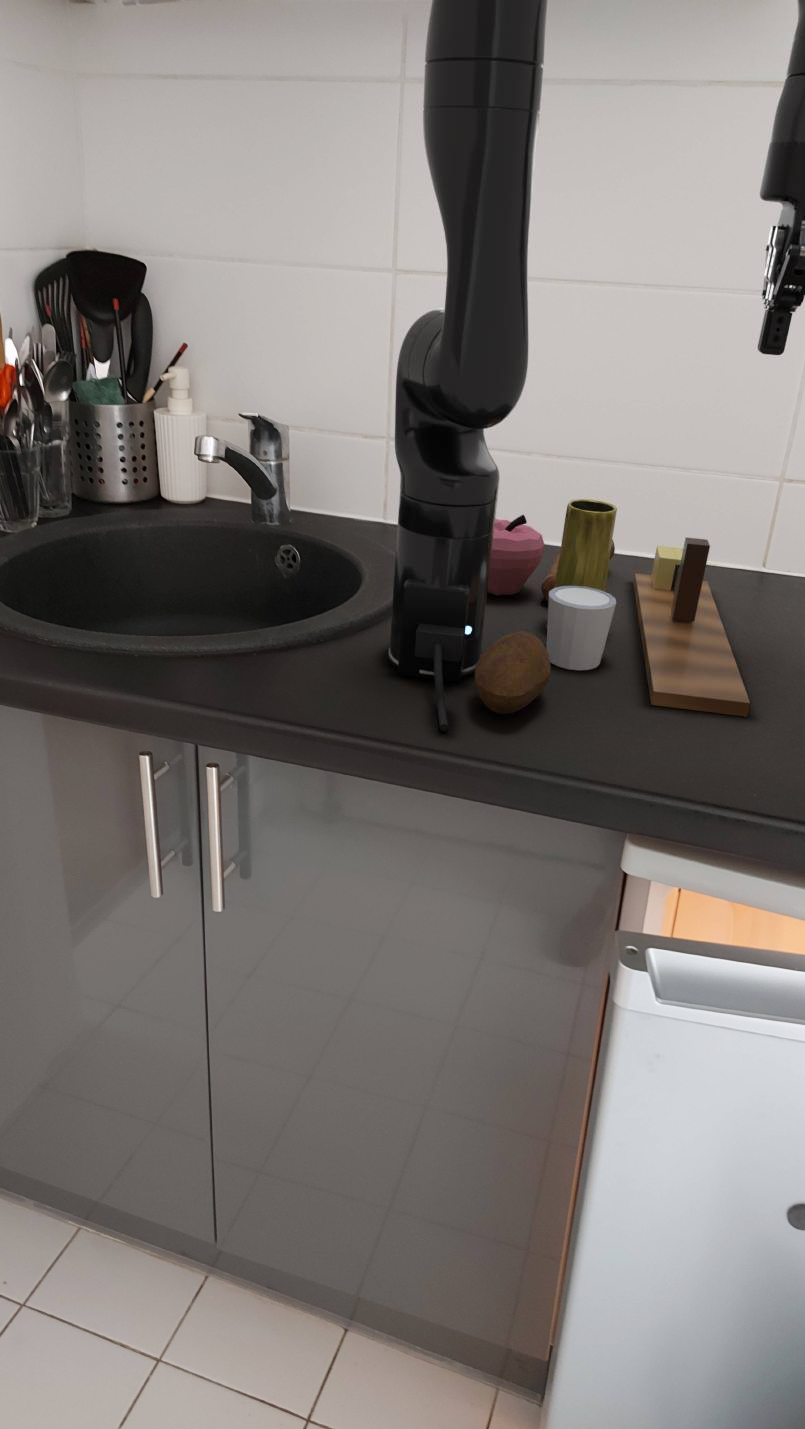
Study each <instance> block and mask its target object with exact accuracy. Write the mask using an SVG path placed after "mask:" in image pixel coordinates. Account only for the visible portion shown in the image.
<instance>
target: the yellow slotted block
mask: <svg viewBox="0 0 805 1429" xmlns="http://www.w3.org/2000/svg"><path fill="white" fill-rule="evenodd" d="M683 548H684V547H683ZM683 548H682V547H673V546H664V545H656V548H655V553H654V559H653V564H652V571H651V574H650V575H651V576H652V581H653V586H654V589H660V590H669V591H670V590H671V586H672V581H673V575H674V570H675V565H680V563H681V558H682V553H683Z"/></svg>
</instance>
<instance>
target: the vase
mask: <svg viewBox="0 0 805 1429" xmlns="http://www.w3.org/2000/svg"><path fill="white" fill-rule="evenodd" d="M617 512H618V508H617V506H615V505H614V504H612V503H610V502H606V501H603V500H597V499H588V498H578V499H572V500H570V501H568V502H567V505H566V510H565V517H564V523H563V525H564V526H563V532H562V536H561V545H560V552H559V553H560V557H559V563H558V569H557V575H556V580H555V587H554V588H557V587H561V586H582V587H589V588H594V589H598V590H601V591H604V592H606V593H607V584H608V576H609V568H610V561H611V560H610V552H611V545H612V539H613V536H614V531H615V524H616V517H617ZM546 622H547V623H546V629H547V627H548V621H546Z"/></svg>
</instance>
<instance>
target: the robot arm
mask: <svg viewBox="0 0 805 1429" xmlns="http://www.w3.org/2000/svg"><path fill="white" fill-rule="evenodd" d="M547 10H548V0H431V6H430V10H429V11H430V12H429V18H428V24H427V33H426V41H425V51H424V52H425V53H424V63H425V64H424V77H423V100H422V101H423V102H422V104H423V105H422V108H423V110H422V125H423V126H422V127H423V128H422V129H423V130H422V131H423V132H422V133H423V142H424V150H425V156H426V161H427V167H428V171H429V174H430V179H431V182H432V186H433V191H434V194H435V195H434V196H435V198H436V202H437V205H438V209H439V214H440V218H441V223H442V227H443V232H444V239H445V245H446V246H445V247H446V285H445V297H444V300H445V301H444V307H441V308H435V309H432V310H430V311H427V312H425V313H424V314H422V315H421V316H420V317H419V318H417V319H416V320H415V321H414V322H413V324H411V325H410V327H409V329H408V331H407V332H406V334H405V336H404V338H403V340H402V343H401V346H400V350H399V353H398V359H397V366H396V379H395V407H394V452H395V458H396V462H397V466H398V470H399V475H400V480H399V481H400V482H399V483H400V484H399V502H398V517H397V530H396V544H395V558H394V559H395V560H394V576H393V589H392V590H393V592H392V606H391V620H390V621H391V622H390V623H391V624H390V640H389V648H388V654H387V655H388V656H387V658H388V662H389V663H390V664H391V665H392V666H393V668H395V669H396V670H397V675H399V676H407V677H414V678H422V679H431V680H434V689H435V699H436V700H435V701H436V709H437V718H438V724H439V729H440V731H441V732H446V731H447V730H448V729H449V722H448V715H447V707H446V699H445V691H444V690H445V689H444V681H446V682H447V681H448V682H456V683H459V682H461V680H462V678H464V677H467V676H470V675H472V674H475V668H476V665H477V663H478V660H479V658H480V656H481V655H482V646H483V636H484V626H485V617H486V608H487V598H488V597H487V596H488V593H487V590H488V580H489V571H490V562H491V553H492V543H493V534H494V527H495V519H496V518H497V507H498V498H499V488H500V476H501V475H500V469H499V467H498V465H497V463H496V462H495V460H494V458H493V455H491V452H490V450H489V448H488V445H487V442H486V437H485V429H491V428H492V427H495V426H497V425H499V424H500V423H502V422H503V421H504V420H505V419H506V418H508V417H509V416H510V414H511V413H512V412H513V410H514V409H515V408H516V406H517V404H518V402H519V401H520V399H521V396H522V393H523V391H524V388H525V385H526V382H527V375H528V367H529V284H528V282H529V278H528V277H529V276H528V275H529V274H528V272H529V271H528V270H529V266H528V265H529V263H528V262H529V244H530V232H531V231H530V230H531V219H532V205H533V189H534V175H535V174H534V173H535V160H536V148H537V139H538V131H539V124H540V112H541V101H542V90H543V79H544V66H545V44H546V43H545V42H546V41H545V40H546V23H547ZM793 35H794V36H793V41H792V45H791V50H790V53H789V54H790V55H789V59H788V64H787V70H786V75H785V77H786V78H785V80H784V83H783V88H782V91H781V94H780V97H779V100H778V103H777V106H776V110H775V115H774V120H773V124H772V130H771V133H770V134H771V135H770V140H769V144H768V150H767V155H766V160H765V163H764V164H765V165H764V170H763V176H762V180H761V185H760V188H759V189H760V190H759V198H760V199H761V200H762V201H764V202H770V203H771V202H772V203H779V204H781V205H782V209H781V212H780V215H779V219H778V222H777V225H771V226H770V230H769V234H768V239H767V245H766V247H765V251H766V252H765V253H766V255H765V264H764V274H763V285H762V286H763V287H762V291H761V296H762V300H763V301H762V302H763V303H762V304H763V309H765V310H764V313H763V319H762V324H761V329H760V333H759V339H758V343H757V351H758V352H759V353H761V354H762V355H770V356H781V355H782V354H783V353H784V352H785V350H786V344H787V340H788V336H789V332H790V327H791V323H792V317H793V313H795V312H797V309H798V307H801V306H802V304H803V303H804V300H805V0H797V24H796V28H795V32H794V34H793Z"/></svg>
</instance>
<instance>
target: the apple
mask: <svg viewBox="0 0 805 1429" xmlns="http://www.w3.org/2000/svg"><path fill="white" fill-rule="evenodd" d="M527 523H528V522H527V518H526V516H525V515H524V514H522V515H520V516H518V517H516V518H515V519H513V520H512V521H510V520H509V519H498V518H495V527H494V534H493V543H492V553H491V562H490V571H489V580H488V590H487V594H489V595H494V596H497V597H498V596H499V597H500V596H511V595H515V594H516V593H519V592H520V591H521V590H522V588H523V587H524V586H525V584H526V583H527V581H528V579H530V577H531V576H532V575H533V573H534V572H535V570H536V569H537V567H538V566H539V565H540V563H541V561H542V558H543V555H544V552H545V541H544V538H543V535H542V533H540V532H539V531H537V530H536V529H534V528H533V527H532V526H529V525H526V524H527Z"/></svg>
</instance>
